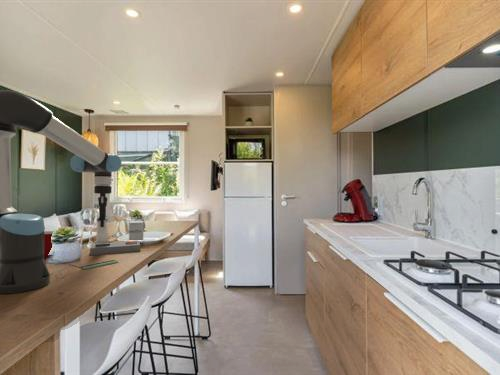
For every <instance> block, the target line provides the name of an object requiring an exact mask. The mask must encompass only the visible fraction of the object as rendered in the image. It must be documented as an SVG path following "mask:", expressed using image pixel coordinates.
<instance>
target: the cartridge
mask: <svg viewBox="0 0 500 375" xmlns="http://www.w3.org/2000/svg"><path fill="white" fill-rule="evenodd" d="M98 219H99V217H98V218H96V243H98V244H103V243H109V217H107V218H105V234H99V220H98Z"/></svg>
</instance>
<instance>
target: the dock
mask: <svg viewBox="0 0 500 375" xmlns="http://www.w3.org/2000/svg"><path fill="white" fill-rule="evenodd" d="M127 241H128V240H127ZM127 241H111V242H108V243H103V244H98V243H97V242H96V243H95V242H94V243H92V244H91V246H90V248H89V254H90V256H93V255H95V256H96V255H104V254H106V255H107V254H119V253H134V252H141V244H140V242H139V241H136V244H127Z"/></svg>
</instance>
